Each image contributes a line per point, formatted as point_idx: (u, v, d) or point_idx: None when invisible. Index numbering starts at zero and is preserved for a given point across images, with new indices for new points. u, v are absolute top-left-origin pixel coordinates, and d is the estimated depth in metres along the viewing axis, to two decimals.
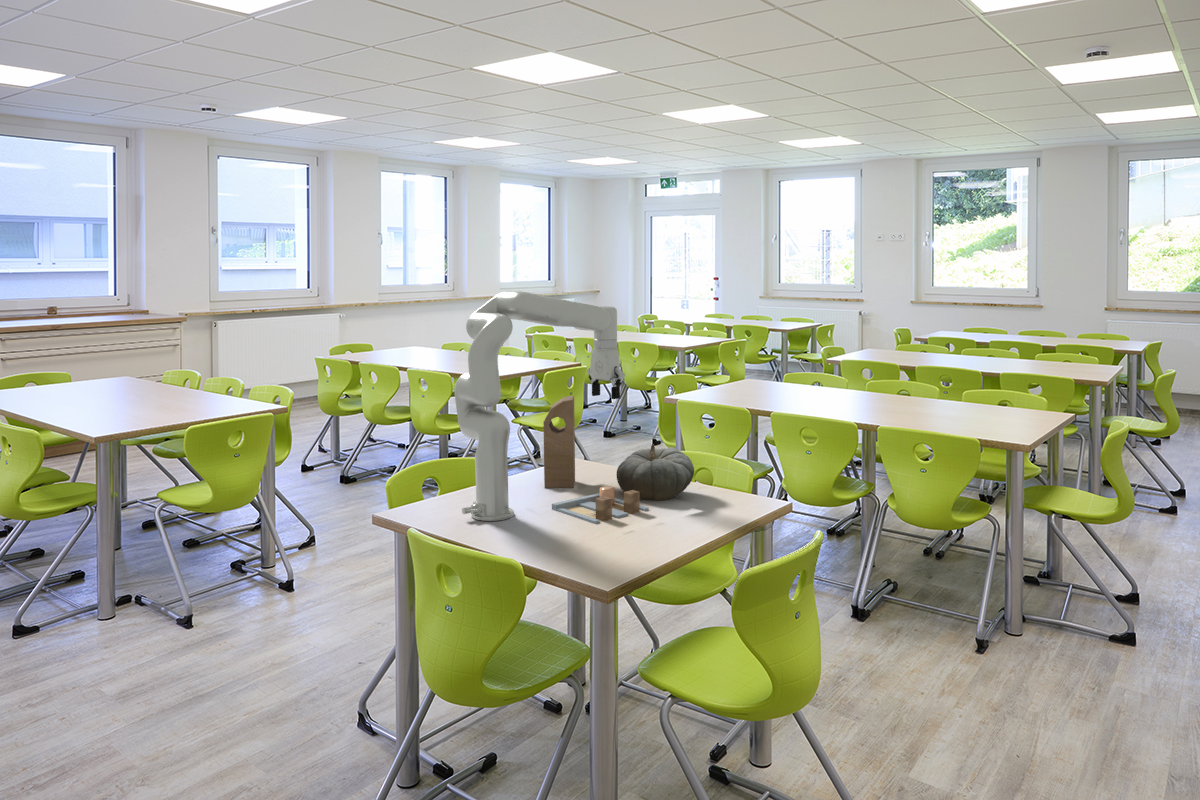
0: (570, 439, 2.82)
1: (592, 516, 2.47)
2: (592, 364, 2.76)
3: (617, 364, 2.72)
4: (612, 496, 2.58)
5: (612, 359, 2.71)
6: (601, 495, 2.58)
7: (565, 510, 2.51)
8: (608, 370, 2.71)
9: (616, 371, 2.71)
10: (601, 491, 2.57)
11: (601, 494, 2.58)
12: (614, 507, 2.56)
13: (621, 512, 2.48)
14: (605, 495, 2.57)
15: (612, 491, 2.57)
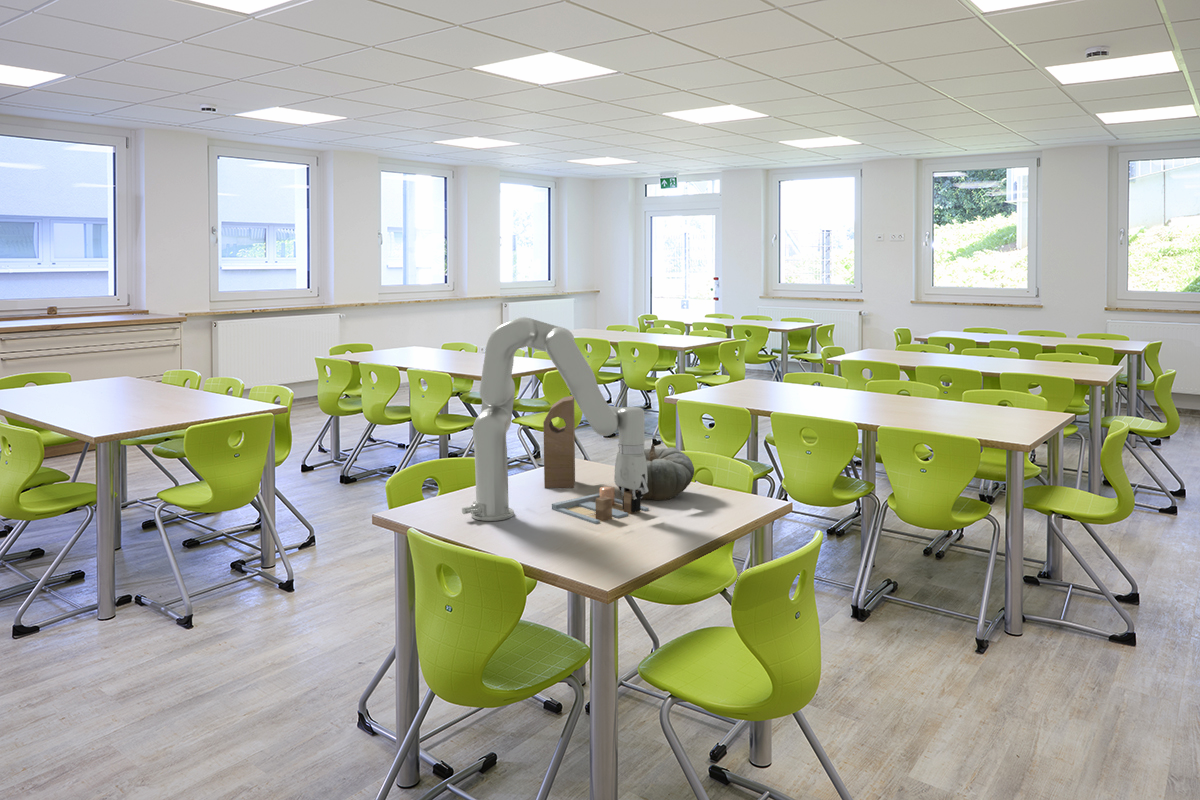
0: (570, 439, 2.82)
1: (592, 516, 2.47)
2: (616, 470, 2.50)
3: (645, 472, 2.46)
4: (612, 496, 2.58)
5: (639, 467, 2.45)
6: (601, 495, 2.58)
7: (565, 510, 2.51)
8: (635, 479, 2.45)
9: (641, 483, 2.46)
10: (601, 491, 2.57)
11: (601, 494, 2.58)
12: (614, 507, 2.56)
13: (621, 512, 2.48)
14: (605, 495, 2.57)
15: (612, 491, 2.57)
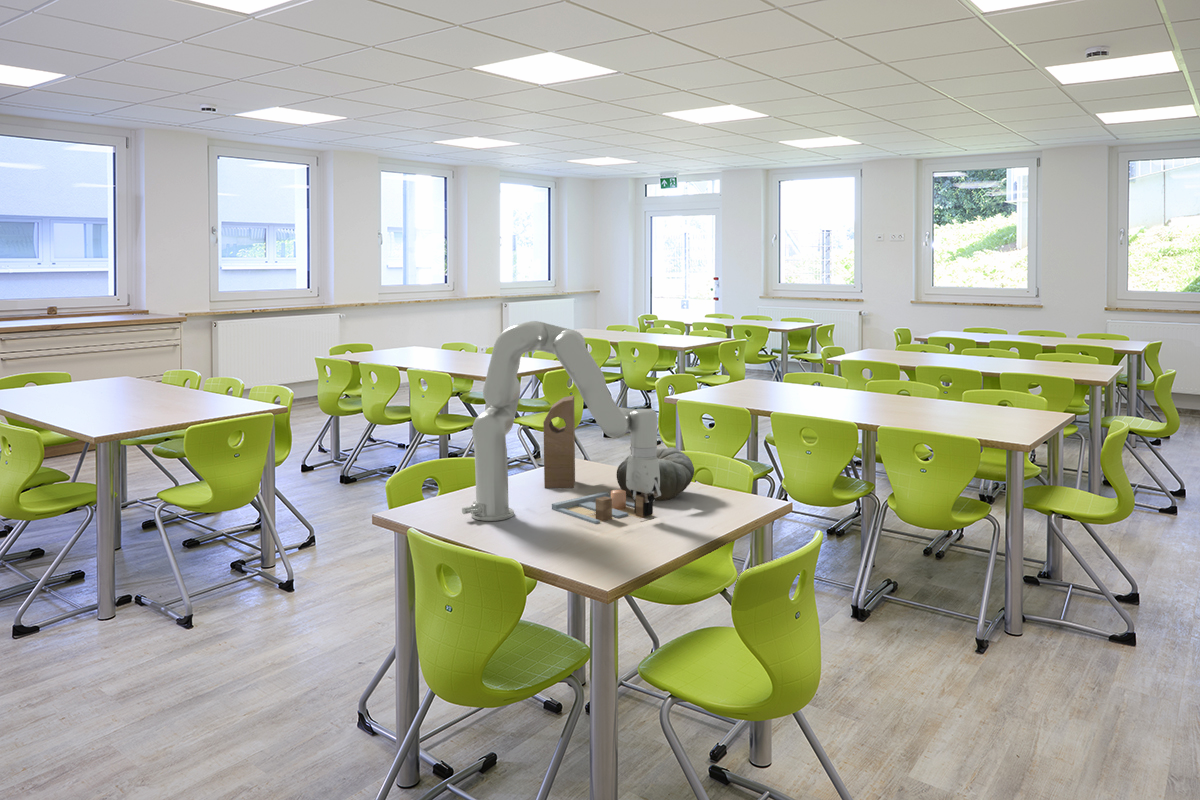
0: (570, 439, 2.82)
1: (592, 516, 2.47)
2: (628, 473, 2.46)
3: (657, 475, 2.42)
4: (623, 499, 2.54)
5: (652, 470, 2.41)
6: (612, 498, 2.54)
7: (565, 510, 2.51)
8: (647, 482, 2.41)
9: (653, 486, 2.42)
10: (612, 494, 2.54)
11: (612, 497, 2.54)
12: (625, 511, 2.52)
13: (621, 512, 2.48)
14: (616, 498, 2.53)
15: (623, 494, 2.53)
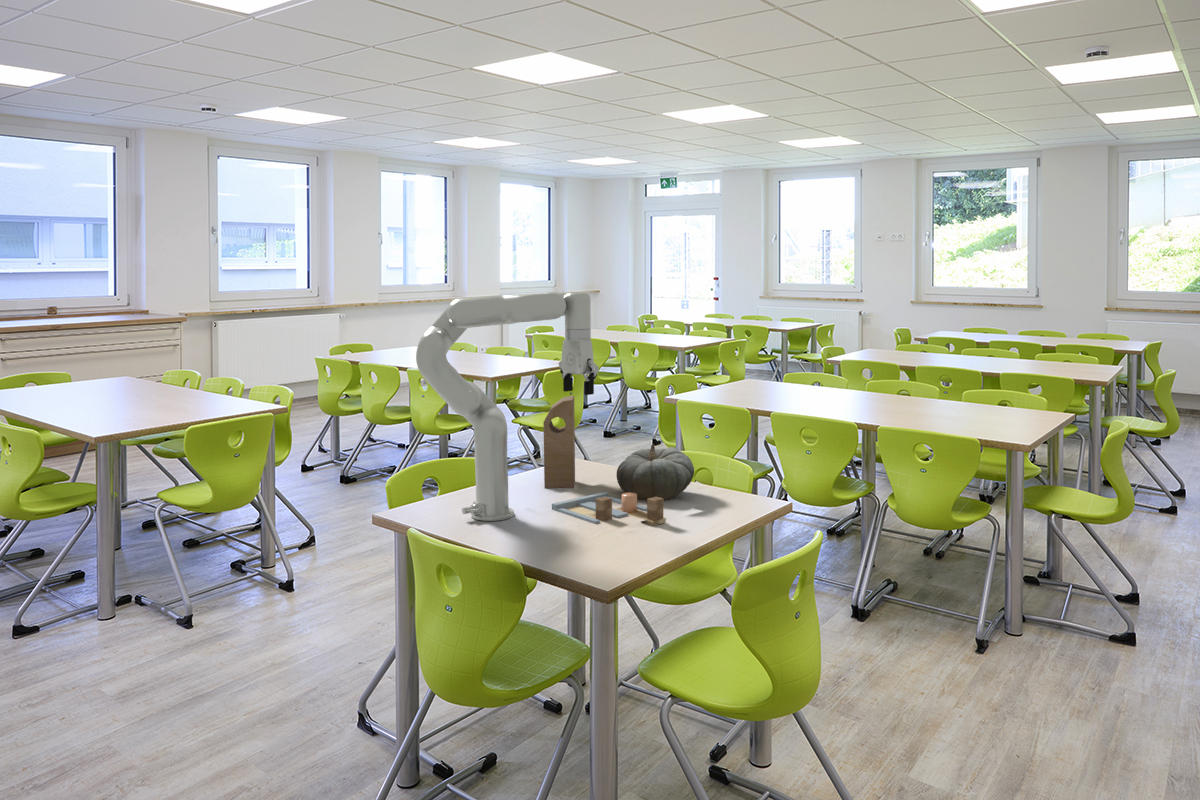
0: (570, 439, 2.82)
1: (592, 516, 2.47)
2: (563, 356, 2.50)
3: (590, 356, 2.46)
4: (634, 503, 2.50)
5: (585, 351, 2.45)
6: (623, 502, 2.50)
7: (565, 510, 2.51)
8: (580, 363, 2.45)
9: (589, 364, 2.45)
10: (623, 497, 2.50)
11: (623, 501, 2.50)
12: (637, 514, 2.48)
13: (621, 512, 2.48)
14: (627, 502, 2.49)
15: (635, 497, 2.50)
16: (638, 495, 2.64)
